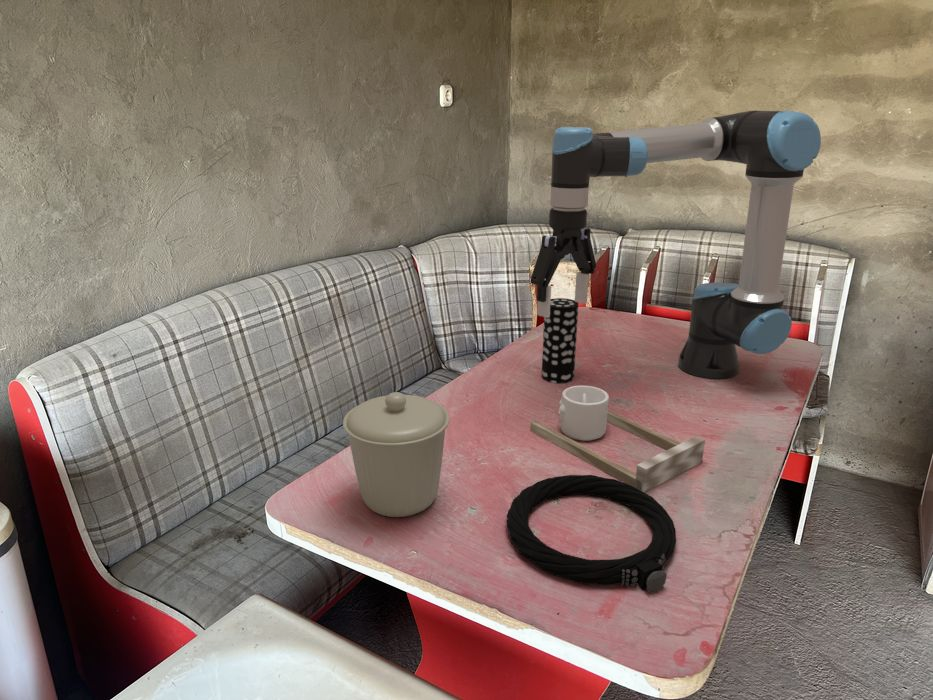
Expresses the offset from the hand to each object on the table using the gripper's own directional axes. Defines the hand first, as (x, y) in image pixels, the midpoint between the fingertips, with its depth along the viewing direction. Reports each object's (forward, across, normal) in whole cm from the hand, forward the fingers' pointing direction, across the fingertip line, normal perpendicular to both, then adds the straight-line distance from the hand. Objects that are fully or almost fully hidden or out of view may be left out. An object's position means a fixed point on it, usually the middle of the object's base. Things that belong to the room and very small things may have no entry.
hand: (562, 309), depth 140 cm
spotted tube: (+26, -19, -13) cm, 34 cm away
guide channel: (+25, +3, +16) cm, 30 cm away
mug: (+26, +2, +8) cm, 27 cm away
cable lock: (+26, +31, +30) cm, 51 cm away
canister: (+26, +46, -1) cm, 53 cm away
